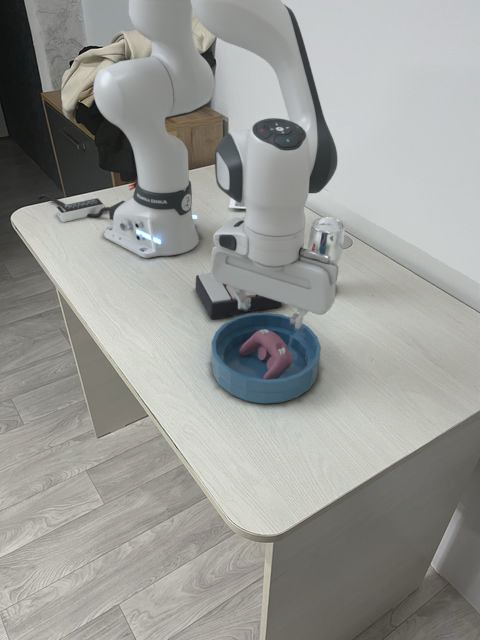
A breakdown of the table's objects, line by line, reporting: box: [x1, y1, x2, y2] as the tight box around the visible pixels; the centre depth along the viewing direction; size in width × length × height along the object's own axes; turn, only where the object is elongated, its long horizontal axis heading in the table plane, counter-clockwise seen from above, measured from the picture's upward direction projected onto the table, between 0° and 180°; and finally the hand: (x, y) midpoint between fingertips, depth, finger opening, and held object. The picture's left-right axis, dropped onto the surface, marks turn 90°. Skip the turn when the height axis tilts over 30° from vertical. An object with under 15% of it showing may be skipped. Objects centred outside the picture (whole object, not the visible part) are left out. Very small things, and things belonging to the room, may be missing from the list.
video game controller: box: [239, 329, 292, 380], centre depth 93 cm, size 10×5×7 cm, turn 30°
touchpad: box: [228, 197, 246, 210], centre depth 143 cm, size 8×15×2 cm, turn 88°
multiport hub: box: [55, 197, 106, 223], centre depth 135 cm, size 4×11×2 cm, turn 124°
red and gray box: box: [195, 272, 283, 320], centre depth 109 cm, size 11×4×15 cm
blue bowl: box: [211, 312, 322, 404], centre depth 93 cm, size 18×18×5 cm
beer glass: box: [307, 216, 346, 266], centre depth 110 cm, size 7×7×15 cm
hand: (269, 317), depth 88 cm, fingers open, 8 cm apart
